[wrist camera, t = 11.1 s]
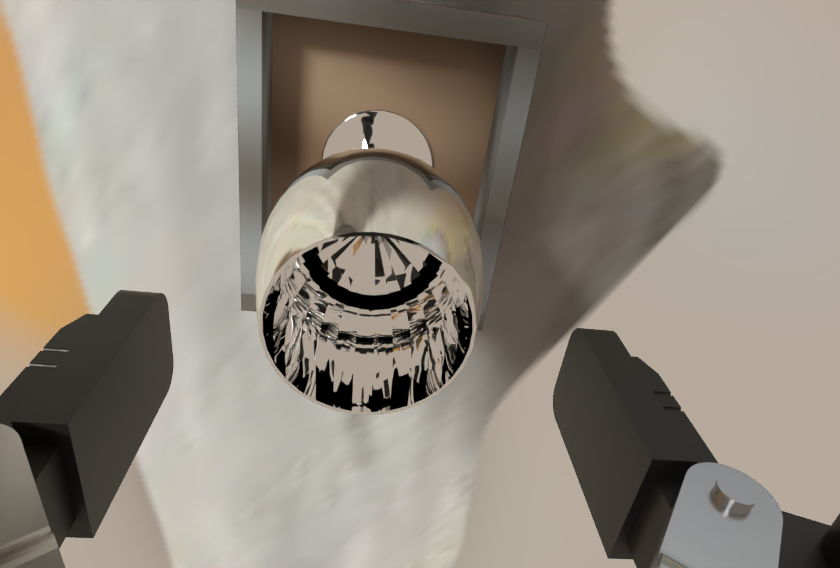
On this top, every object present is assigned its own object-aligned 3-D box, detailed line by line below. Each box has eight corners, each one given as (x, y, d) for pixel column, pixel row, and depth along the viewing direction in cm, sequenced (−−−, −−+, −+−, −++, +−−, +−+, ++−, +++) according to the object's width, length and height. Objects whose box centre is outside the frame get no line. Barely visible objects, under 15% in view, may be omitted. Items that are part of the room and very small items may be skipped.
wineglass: (278, 184, 23) (184, 363, 12) (354, 58, 21) (319, 144, 10) (397, 256, 25) (404, 466, 14) (478, 147, 22) (558, 298, 12)
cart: (267, -22, 22) (235, -21, 18) (514, 14, 23) (547, 24, 19) (266, 253, 28) (241, 310, 23) (465, 272, 29) (481, 330, 24)
